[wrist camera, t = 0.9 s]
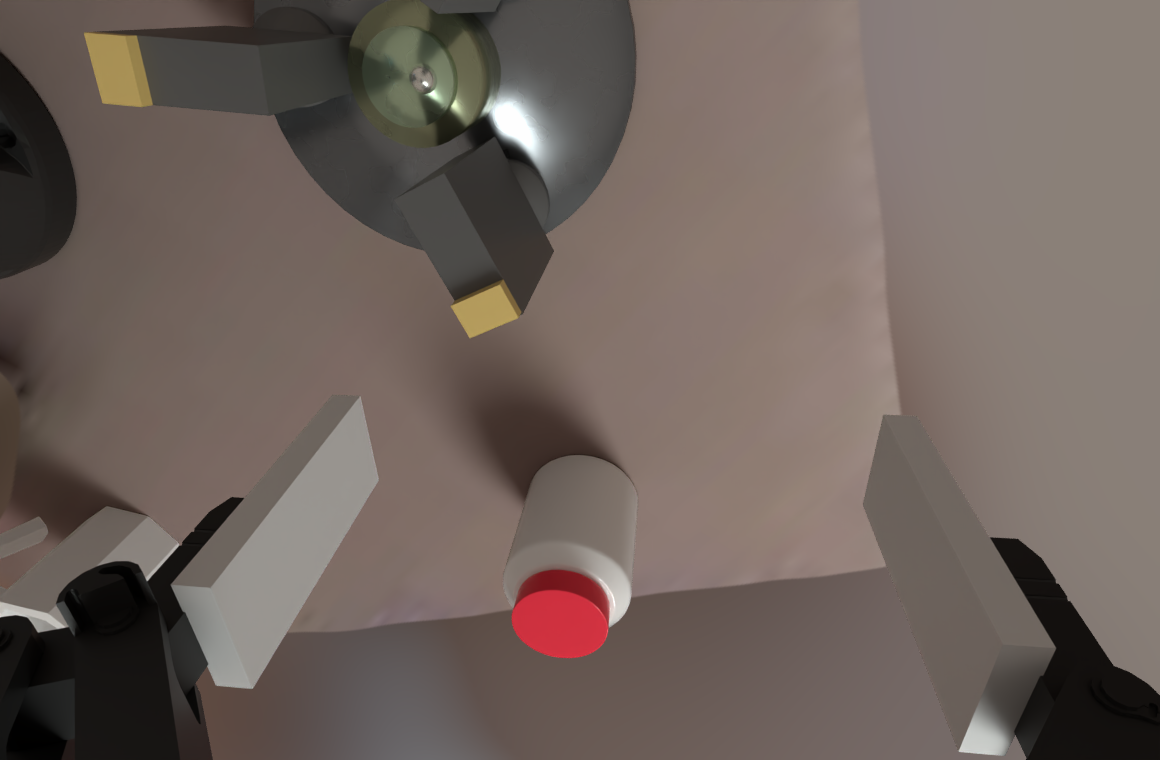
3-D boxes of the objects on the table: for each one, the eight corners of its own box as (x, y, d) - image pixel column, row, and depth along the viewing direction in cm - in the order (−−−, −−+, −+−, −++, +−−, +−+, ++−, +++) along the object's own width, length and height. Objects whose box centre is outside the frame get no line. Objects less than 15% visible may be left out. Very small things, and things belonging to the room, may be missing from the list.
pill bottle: (581, 434, 44) (554, 552, 35) (661, 504, 46) (658, 633, 37) (506, 495, 48) (464, 617, 38) (584, 557, 50) (563, 689, 40)
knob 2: (443, 162, 35) (368, 213, 26) (515, 124, 33) (461, 165, 25) (502, 270, 37) (451, 348, 29) (572, 238, 36) (540, 311, 27)
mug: (194, 539, 54) (104, 640, 45) (168, 598, 58) (80, 700, 49) (49, 465, 52) (-74, 555, 43) (32, 531, 56) (-83, 626, 47)
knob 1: (359, 12, 32) (243, 14, 23) (367, 110, 34) (264, 145, 26) (231, 1, 32) (72, 0, 24) (247, 99, 35) (107, 130, 26)
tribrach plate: (222, 116, 37) (134, 138, 31) (359, -280, 28) (273, -358, 22) (513, 308, 40) (484, 360, 34) (716, 8, 32) (726, 9, 26)
